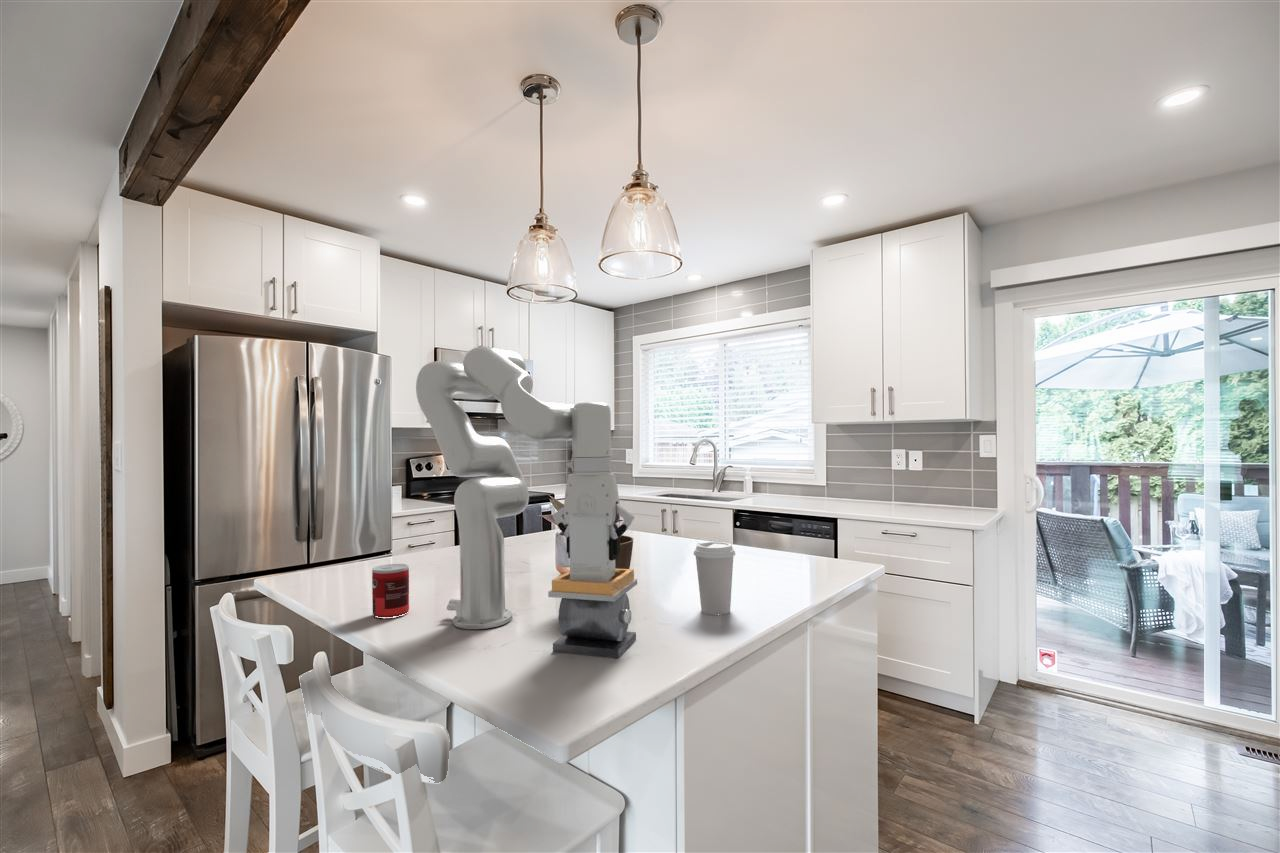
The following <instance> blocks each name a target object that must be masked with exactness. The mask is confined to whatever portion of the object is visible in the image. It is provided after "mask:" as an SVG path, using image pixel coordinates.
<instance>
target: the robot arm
mask: <svg viewBox="0 0 1280 853" xmlns="http://www.w3.org/2000/svg"><path fill="white" fill-rule="evenodd" d="M526 367H527V366H526V362H525V361H524V359H523V357H522V356H521V355H520V354H519V353H517V352H515V351H513V350H508V349H503V348H498V347H493V346H492V347H491V346H477V347H473V348H472V349H470V350H468V352H466V354H465V356H464V357H463V360H462V362H457V361H448V360H436V361H431V362H428V363H426V364H424V365H423V366H422V367H421V368H420V370H419V371H418V374H417V376H416V377H417V378H416V383H415V384H416V385H415V392H416V398H417V403H418V405H419V407H420V410H421V411H422V413H423V415H424V417H425V419H426V420H427V422H428V424H429V425H430V427H431V430H432V431H433V434H434V436H435V440H436V442H437V445H438V446H439V449H440V453H441V454H442V456H443V459H444V463H445V464H446V467H447V468H448V470H449V472H450V473H451V475H453V476H455V477H458V478H469V479H467V480H465V481H463V482H462V483H460V484H459V485H458V487H457V489H456V490H455V492H454V497H453V502H454V503H453V504H454V509H455V514H456V518H457V525H458V534H459V571H460V572H459V581H460V582H459V583H460V585H459V586H460V587H459V588H460V591H459V592H460V593H459V594H460V599H457V598H456V599H454V598H452V599H450V600H448V604H447V605H446V610H447V611H455V613H456V614H455V615H454V617H453V620H452V622H453V623H452V624H453V626H455V627H457V628H459V629H463V630H485V629H492V628H496V627H501V626H503V625H506V624H507V623H509V622H511V620H513V612H512V611H511V610H509V609H506V576H505V574H506V572H505V570H506V569H505V537H504V533H503V531H502V529H501V527H500V526H499V523H498V521H497V519H499V518H506V517H512V516H517V515H520V514H521V513H522V512H524V511H525V510H526V509H527V507H528V504H529V501H530V492H529V488H528V485H527V482H526V480H525V477H524V475H523V473H522V471H521V467H520V465H519V463H518V461H517V459H516V457H515V454H514V451H513V450H512V448H511V447H510V445H509V443H508V442H506V440H504V439H503V438H501V437H500V436H496V435H480V434H478V433H477V432H476V430H475V429H474V426H473V425H472V422H471V418H470V417H469V415H468V414H467V412H466V411H465V410H464V409H463V408H462V407H461V406H460V405H458V404H457V403H456V402H455V400H454V399H457V400H459V399H461V400H475V401H477V400H484V399H487V398H490V397H493V398H494V399H496V400H497V401H498V402H500V409H501V411H502V414H503V417H504V418H505V420H506V421H507V422H508V423H509V424H510V425H511V426H513V428H515V429H516V430H518V432H520V433H522V434H523V435H525V436H526V437H528V438H530V439H532V440H533V441H539V442H555V441H557V442H570V441H571V451H572V452H571V455H572V457H571V459H569V460H567V461H566V462H565V463H566V464H565V465H566V468H570V469H571V472H572V473H568V475H567V479H566V485H565V493H564V502H563V504H564V505H563V506H562V507H561V508H560V509H559V510H557V511H556V512H555V513H553V514H552V519H553V521H555V522H554V523H556V525H557V528H559V530H560V531H561V532H562V533H563V536H564V538H566V553H567V558H568V559H570V516H571V515H604V516H607V527H608V526H609V534H610V535H611V539H609V560H612V561H613V560H615V559H617V558H618V555H619V554H620V537H621V536H622V535H624V533H626V532H627V531H628V530H629V527H630V526H631V524H632V523H633V522H634V521H635V516H634V515H633V514H632V513H630V512H629V510H627V509H625V508H624V507H623V506H621V505H620V498H619V489H618V483H617V480H616V479H617V478H616V474H615V473H612V472H613V471H612V421H611V420H612V418H611V417H612V416H611V415H612V414H611V412H612V411H611V408H610V405H608V404H607V403H606V402H598V401H597V402H588V401H587V402H579V403H572V404H571V403H560V402H551V401H549V402H546V401H541V400H539V399H538V398H536V397H535V396H533V395H532V392H533V386H534V382H533V378H532V375H531V374H529V373H528V371H527V368H526ZM621 517H622V519H623V522H621V525H620V526H619V525H618V524H617V523H619V521H620V518H621Z"/></svg>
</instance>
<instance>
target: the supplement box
mask: <svg viewBox="0 0 1280 853" xmlns="http://www.w3.org/2000/svg"><path fill="white" fill-rule="evenodd" d="M609 539H611V535H610V534H609V526H608V527H607V516H604V515H571V516H570V558H569V571H570V580H580V581H597V582H608V580H609V579H611V578H612V577H613V576H614V575H615V560H613V561H612V560H609Z"/></svg>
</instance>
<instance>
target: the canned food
mask: <svg viewBox="0 0 1280 853" xmlns="http://www.w3.org/2000/svg"><path fill="white" fill-rule="evenodd" d="M371 577H372V578H371V580H372V581H371V584H372V585H371V586H372V588H371V590H372V592H371V593H372V596H371V597H372V602H371V603H372V615H374V616H378V617H393V616H399V615H402V614H405V613H407V612H408V613H409V610H410V567H409V565H408V564H406V563H387V564H381V565H377V566H374V567H373V568H372V571H371ZM408 613H407V614H408ZM374 616H373V617H374Z"/></svg>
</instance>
